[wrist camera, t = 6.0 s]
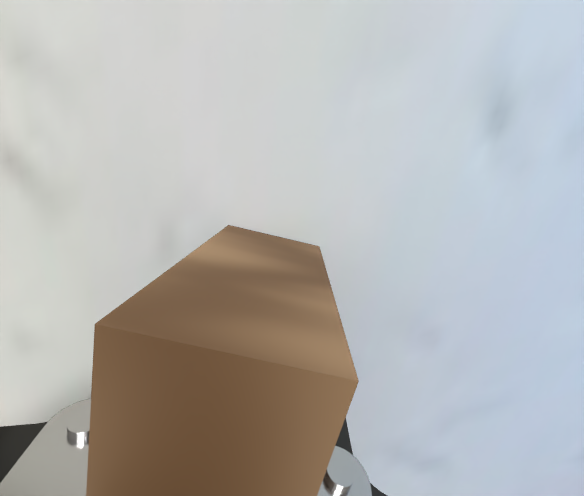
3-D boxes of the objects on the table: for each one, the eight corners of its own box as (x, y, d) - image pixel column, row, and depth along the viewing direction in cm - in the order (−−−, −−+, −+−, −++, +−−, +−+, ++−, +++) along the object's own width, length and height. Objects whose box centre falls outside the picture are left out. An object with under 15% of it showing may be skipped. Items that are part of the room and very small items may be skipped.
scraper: (392, 263, 9) (563, 425, 3) (331, 437, 11) (369, 732, 5) (151, 206, 9) (-143, 273, 3) (132, 395, 11) (-66, 661, 5)
